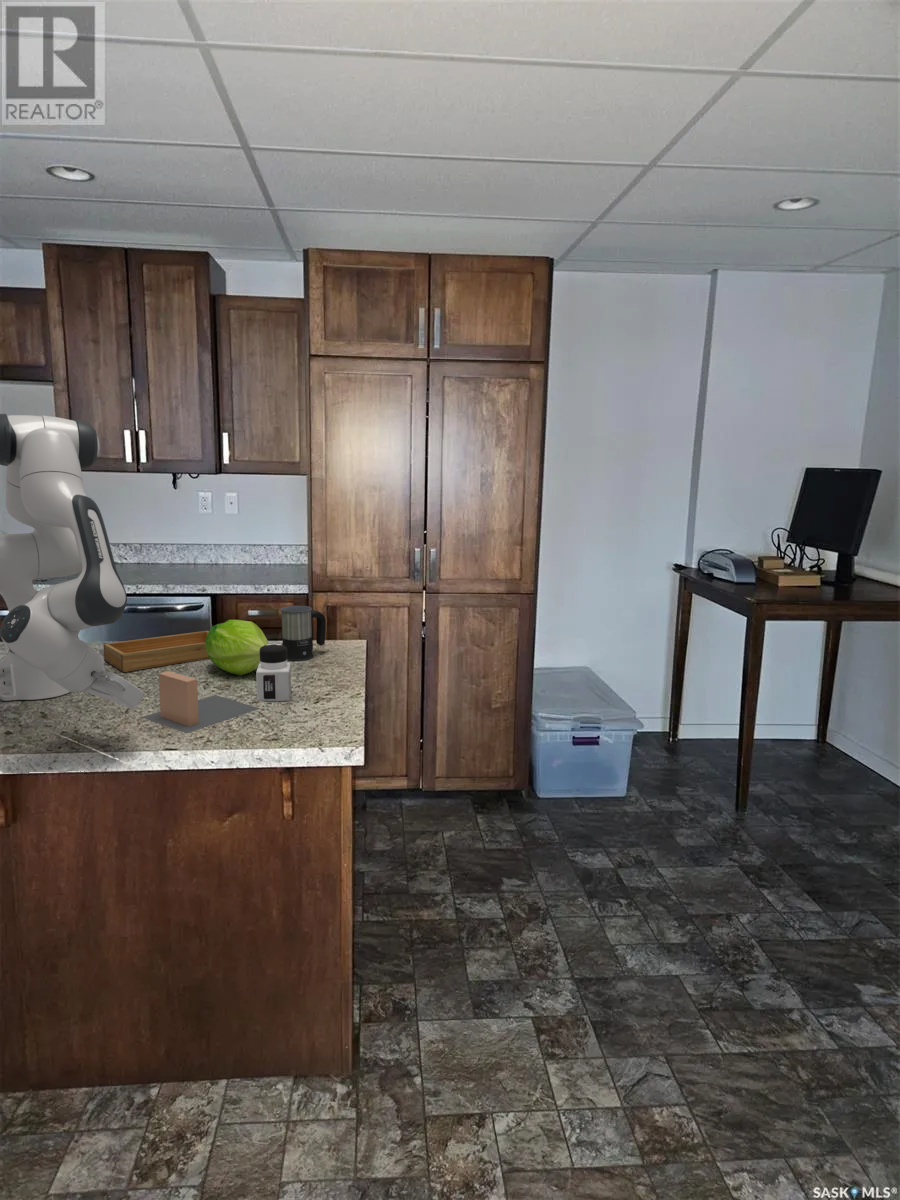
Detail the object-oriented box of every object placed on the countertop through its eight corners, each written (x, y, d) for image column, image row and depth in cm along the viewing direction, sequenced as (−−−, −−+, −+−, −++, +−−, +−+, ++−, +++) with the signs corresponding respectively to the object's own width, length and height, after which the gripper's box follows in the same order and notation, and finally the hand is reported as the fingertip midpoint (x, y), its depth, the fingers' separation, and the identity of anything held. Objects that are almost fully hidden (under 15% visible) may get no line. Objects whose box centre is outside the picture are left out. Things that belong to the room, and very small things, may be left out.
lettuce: (291, 668, 202) (246, 688, 189) (236, 654, 214) (191, 673, 202) (284, 618, 197) (238, 636, 185) (229, 607, 210) (183, 623, 198)
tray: (207, 646, 228) (207, 629, 227) (230, 656, 217) (229, 638, 216) (104, 663, 207) (103, 643, 206) (123, 675, 196) (122, 654, 195)
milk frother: (297, 663, 211) (296, 612, 208) (259, 654, 219) (257, 605, 216) (330, 653, 222) (330, 605, 220) (293, 645, 231) (292, 599, 228)
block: (160, 716, 163) (158, 673, 161) (170, 713, 165) (168, 670, 164) (188, 726, 158) (187, 681, 156) (199, 723, 160) (197, 679, 158)
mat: (141, 719, 163) (141, 717, 163) (215, 696, 179) (215, 695, 179) (187, 735, 154) (186, 733, 154) (260, 710, 170) (260, 708, 170)
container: (289, 701, 177) (288, 649, 175) (256, 702, 176) (255, 650, 174) (291, 691, 185) (290, 641, 182) (259, 692, 184) (258, 642, 181)
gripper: (120, 664, 137) (168, 700, 146) (61, 646, 148) (109, 681, 158) (99, 692, 134) (149, 728, 144) (40, 672, 145) (91, 707, 155)
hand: (128, 703), depth 151 cm, fingers closed
